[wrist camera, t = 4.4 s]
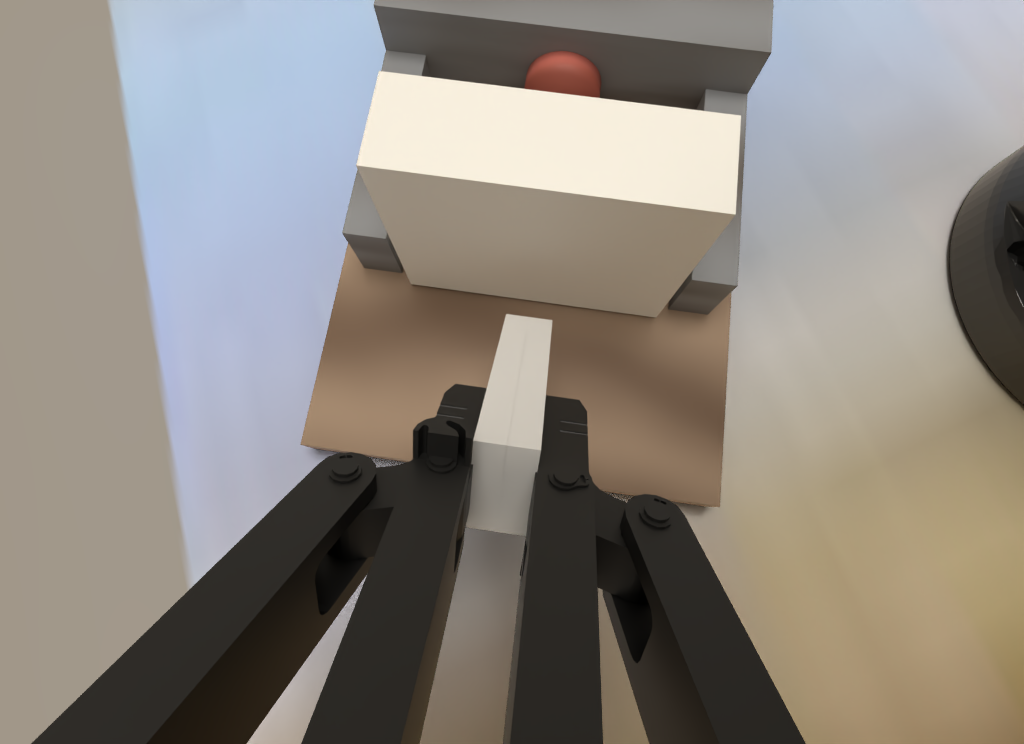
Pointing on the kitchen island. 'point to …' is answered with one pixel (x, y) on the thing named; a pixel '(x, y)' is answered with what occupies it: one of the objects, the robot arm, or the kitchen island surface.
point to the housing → (575, 330)
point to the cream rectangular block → (547, 190)
